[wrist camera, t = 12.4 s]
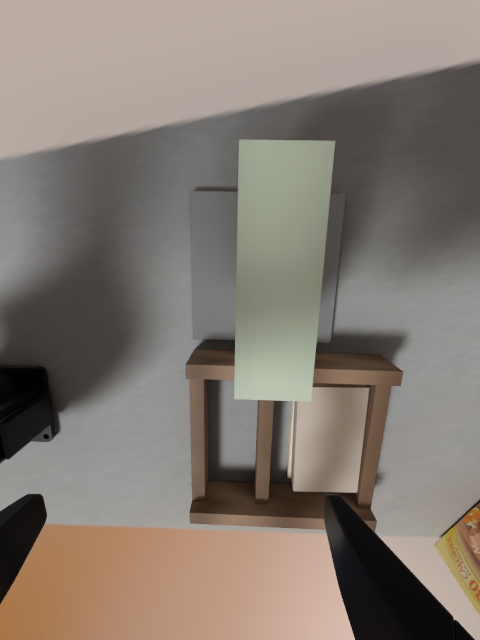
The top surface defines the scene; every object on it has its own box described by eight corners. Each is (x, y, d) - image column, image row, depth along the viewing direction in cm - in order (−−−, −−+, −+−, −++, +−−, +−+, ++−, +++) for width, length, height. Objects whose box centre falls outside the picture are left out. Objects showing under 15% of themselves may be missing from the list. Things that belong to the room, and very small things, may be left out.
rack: (197, 489, 23) (189, 523, 20) (194, 349, 20) (185, 364, 17) (358, 496, 23) (374, 531, 20) (380, 354, 20) (403, 371, 17)
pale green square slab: (240, 334, 19) (234, 399, 10) (243, 201, 17) (239, 139, 8) (281, 335, 19) (311, 401, 10) (290, 202, 17) (335, 140, 8)
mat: (194, 336, 20) (192, 338, 19) (191, 193, 18) (190, 191, 17) (327, 340, 20) (330, 343, 19) (342, 195, 17) (345, 193, 17)
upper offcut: (290, 478, 22) (293, 491, 21) (295, 379, 20) (298, 387, 19) (351, 480, 22) (357, 492, 21) (362, 380, 20) (369, 387, 19)
